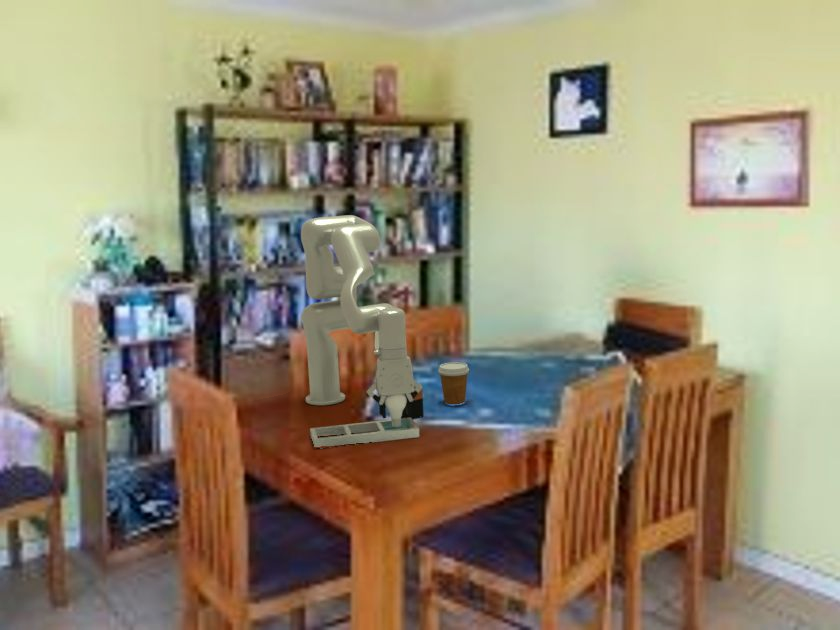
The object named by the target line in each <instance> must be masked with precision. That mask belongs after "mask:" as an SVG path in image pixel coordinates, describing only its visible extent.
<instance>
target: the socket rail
mask: <svg viewBox="0 0 840 630" xmlns="http://www.w3.org/2000/svg"><path fill="white" fill-rule="evenodd" d="M309 431H310V440H311V439H312V440H311V442H312V441H313V443H312V445H313V444H314V446H313V448H314V447H321V446H334V445H344V444H355V445H357V444H356V443H364V444H370V443H369V442H372V443H379V442H388V441H397V440H406V439H412V438H413V439H414V438H420V427H419V425H417V423H416V422H415V421H414V419H412V418H411V417H409V418H401V426H400V427H399V428H394V427H392V420H391V419H385V420H384V419H383V420H376V421H366V422H365V421H364V422H358V423H357V422H356V423H348V424H339V425H330V426H320V427H311V428H309ZM351 433H354V434H351ZM341 434H344V435H341ZM328 435H337V436H328ZM318 436H328V437H319V438H318Z"/></svg>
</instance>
